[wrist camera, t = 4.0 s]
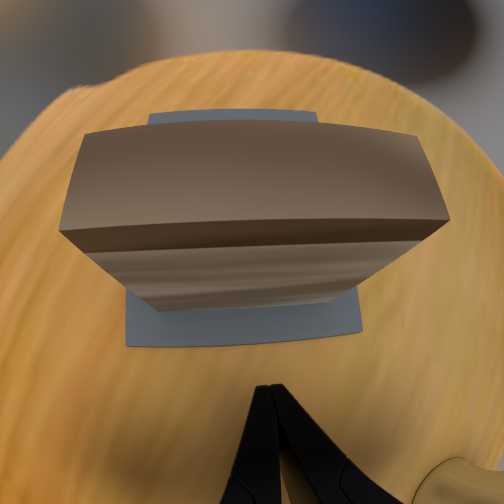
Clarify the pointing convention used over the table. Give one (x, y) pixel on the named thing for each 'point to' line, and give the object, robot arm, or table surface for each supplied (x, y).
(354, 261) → the grey-brown flat block
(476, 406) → the table surface
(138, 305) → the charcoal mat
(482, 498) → the beer glass
